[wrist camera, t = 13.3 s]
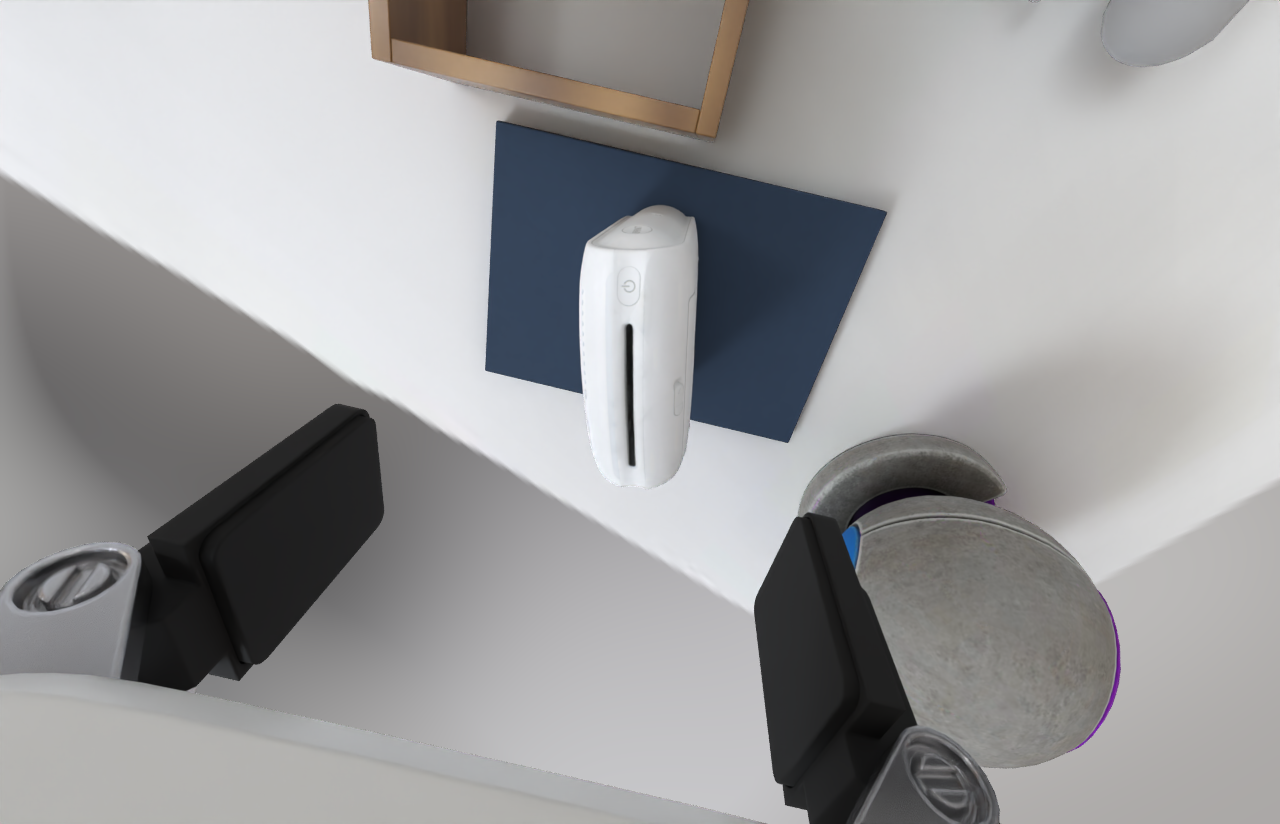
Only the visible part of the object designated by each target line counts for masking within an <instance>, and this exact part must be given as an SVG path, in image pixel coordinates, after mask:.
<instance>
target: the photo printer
mask: <svg viewBox="0 0 1280 824" xmlns="http://www.w3.org/2000/svg"><path fill="white" fill-rule="evenodd" d="M698 260H699V257H698V237H697V228H696V222H695V218H694V217H686V216H685V215H684V214H683V213H682V212H680V211H679V210H677V209H675V208H673V207H670V206H666V205H654V206H650V207H647V208H645V209H643V210H641V211H640V212H638V213H637V214H635V215H634V216H625V217H623V218H621V219H620V220H618V221H617V222H615V223H614V224H612V225H611V226H609V227H608V228H606V229H605V230H603V231H602V232H600V233H599V234H597V235H596V236H594V237H593V238H591V239H590V240H588V242H587V243H586V246H585V250H584V255H583V261H582V267H581V274H580V293H579V331H580V357H581V374H582V387H583V398H584V408H585V416H586V424H587V430H588V436H589V441H590V446H591V450H592V453H593V456H594V459H595V461H596V464H597V466H598V468H599V470H600V472H601V474H602V475H603V476H604V478H605V479H607V480H608V481H609V482H611V483H612V484H614V485H616V486H618V487H626V486H636V487H640V488H643V489H651V488H655V487H658V486H660V485H662V484H664V483H666V482H667V481H669V480H670V479H671V478H673V476H674V475H675V474H676V473H677V471H678V470H679V467H680V465H681V462H682V459H683V456H684V454H685V451H686V446H687V440H688V431H689V427H690V412H691V399H692V384H693V368H694V343H695V324H696V305H697V283H698Z"/></svg>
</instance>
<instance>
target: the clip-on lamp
mask: <svg viewBox="0 0 1280 824" xmlns="http://www.w3.org/2000/svg"><path fill="white" fill-rule="evenodd" d="M1029 1H1030V2H1038V1H1040V0H1029ZM1248 1H1249V0H1110V2H1109V4H1108V6H1107V8H1106V10H1105V12H1104V14H1103V20H1102V29H1101V37H1102V41H1103V44H1104V47H1105V49H1106V50H1107V52H1108V53H1109V54H1110V55H1111V57H1112V58H1114V59H1115V60H1117V61H1118V62H1120V63H1123V64H1126V65H1129V66H1137V67H1147V66H1157V65H1161V64H1165V63H1168V62H1171V61H1174V60H1178V59H1180V58H1183V57H1185V56H1187V55H1189V54H1191V53H1193V52H1194V51H1196V50H1198V49H1199V48H1201V47H1202V46H1204V45H1206V44H1207V43H1209V42H1210V41H1212V40H1213V39H1214V38H1215V37H1216V36H1217V35H1218V34H1219V33H1220V32H1221V31H1222V30H1223V28H1224V27H1225V26H1226V25H1227V24H1228V23H1229V22H1230V21H1231V20H1232V19H1233V18H1234V17H1235V15H1236V14H1237V13H1238V12H1239V11H1240V10H1241V9H1242V8H1243V7H1244V6H1245V5H1246V3H1247V2H1248Z"/></svg>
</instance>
